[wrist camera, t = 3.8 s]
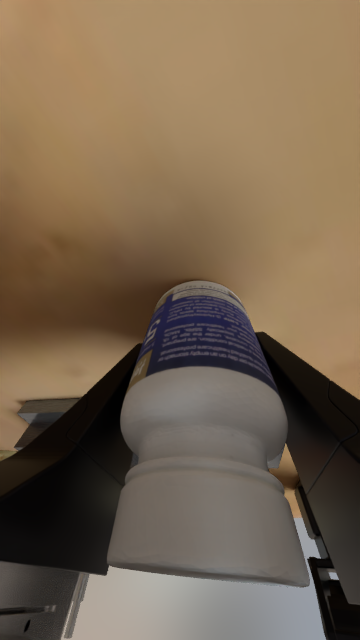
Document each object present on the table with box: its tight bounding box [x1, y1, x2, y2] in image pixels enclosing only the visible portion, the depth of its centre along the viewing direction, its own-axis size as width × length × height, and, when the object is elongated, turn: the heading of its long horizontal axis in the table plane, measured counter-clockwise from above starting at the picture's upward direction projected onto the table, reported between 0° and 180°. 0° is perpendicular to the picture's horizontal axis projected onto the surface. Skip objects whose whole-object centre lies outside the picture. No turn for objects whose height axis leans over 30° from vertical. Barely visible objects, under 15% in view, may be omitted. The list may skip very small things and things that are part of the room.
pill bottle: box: [107, 281, 310, 587], centre depth 7 cm, size 5×5×9 cm
